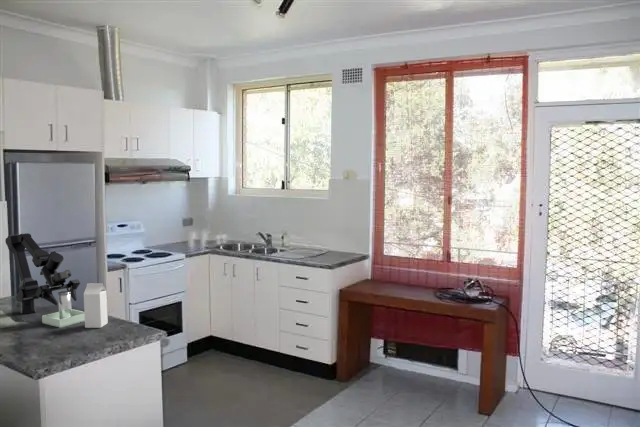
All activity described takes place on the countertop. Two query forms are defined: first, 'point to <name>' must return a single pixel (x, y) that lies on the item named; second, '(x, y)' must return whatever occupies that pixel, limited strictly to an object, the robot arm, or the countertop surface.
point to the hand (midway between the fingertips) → (66, 302)
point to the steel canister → (64, 304)
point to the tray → (55, 321)
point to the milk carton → (95, 305)
